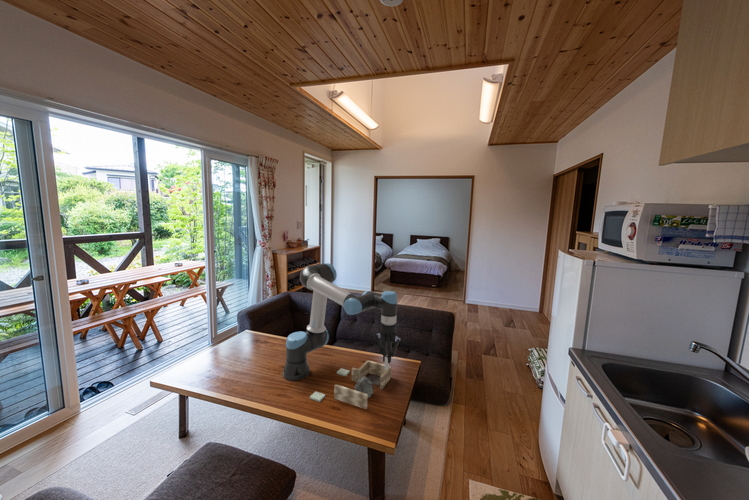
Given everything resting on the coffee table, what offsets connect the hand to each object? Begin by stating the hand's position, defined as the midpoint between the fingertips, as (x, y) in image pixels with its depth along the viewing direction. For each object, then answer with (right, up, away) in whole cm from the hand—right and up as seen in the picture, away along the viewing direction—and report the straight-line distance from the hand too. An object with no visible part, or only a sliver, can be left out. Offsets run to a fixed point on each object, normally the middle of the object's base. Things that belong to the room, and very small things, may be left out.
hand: (386, 368), depth 143 cm
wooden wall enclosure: (-12, -16, +13) cm, 24 cm away
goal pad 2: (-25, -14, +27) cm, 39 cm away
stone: (-12, -17, +7) cm, 22 cm away
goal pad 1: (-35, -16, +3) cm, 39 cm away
